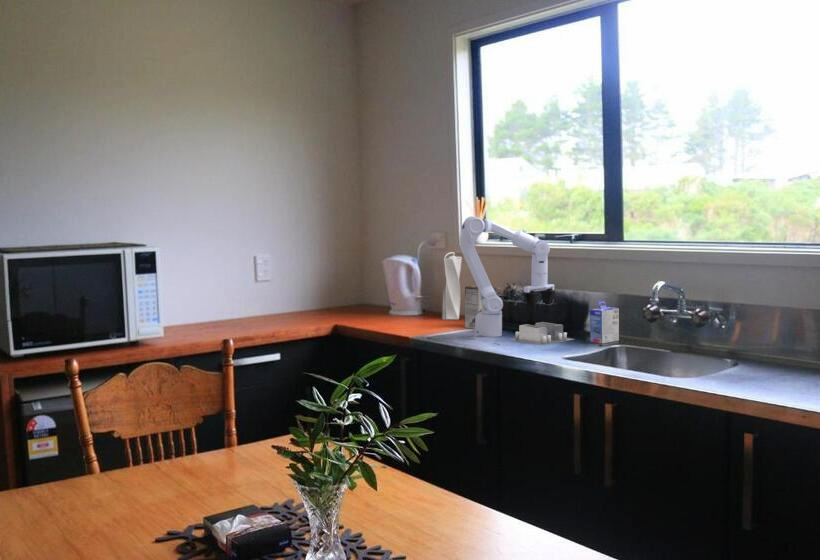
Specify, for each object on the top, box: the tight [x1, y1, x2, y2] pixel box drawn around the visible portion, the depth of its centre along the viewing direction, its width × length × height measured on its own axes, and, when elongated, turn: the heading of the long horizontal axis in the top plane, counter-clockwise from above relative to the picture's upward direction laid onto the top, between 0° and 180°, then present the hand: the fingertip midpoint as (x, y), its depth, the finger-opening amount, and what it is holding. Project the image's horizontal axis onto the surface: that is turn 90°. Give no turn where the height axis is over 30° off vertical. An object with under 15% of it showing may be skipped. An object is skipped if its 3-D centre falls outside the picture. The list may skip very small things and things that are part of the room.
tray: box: [507, 331, 576, 346], centre depth 275 cm, size 15×18×4 cm
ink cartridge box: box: [589, 300, 620, 347], centre depth 271 cm, size 10×6×14 cm, turn 130°
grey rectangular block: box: [518, 323, 547, 343], centre depth 271 cm, size 9×4×5 cm, turn 40°
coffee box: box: [464, 284, 484, 330], centre depth 309 cm, size 9×6×16 cm
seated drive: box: [534, 321, 564, 340], centre depth 277 cm, size 9×4×5 cm, turn 40°
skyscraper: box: [441, 251, 463, 321], centre depth 332 cm, size 8×8×28 cm
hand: (539, 311), depth 285 cm, fingers open, 7 cm apart
